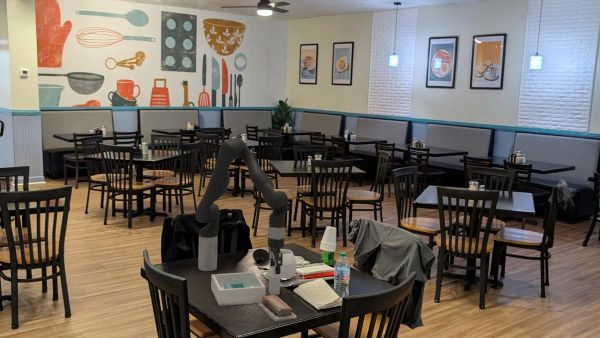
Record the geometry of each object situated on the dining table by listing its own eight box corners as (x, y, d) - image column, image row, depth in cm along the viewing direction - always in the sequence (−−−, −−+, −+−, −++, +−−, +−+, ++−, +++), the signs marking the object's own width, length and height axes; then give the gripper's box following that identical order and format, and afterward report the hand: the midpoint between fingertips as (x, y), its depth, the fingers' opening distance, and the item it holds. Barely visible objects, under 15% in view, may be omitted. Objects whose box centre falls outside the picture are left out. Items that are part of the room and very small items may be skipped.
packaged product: (257, 295, 234) (278, 292, 239) (257, 306, 235) (278, 303, 239) (275, 311, 218) (297, 307, 223) (275, 323, 219) (297, 319, 224)
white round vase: (264, 279, 266) (265, 253, 264) (275, 272, 278) (276, 246, 276) (289, 284, 261) (290, 257, 259) (299, 276, 273) (301, 250, 272)
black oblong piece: (248, 257, 284) (252, 238, 300) (256, 274, 289) (259, 253, 305) (265, 252, 282) (267, 233, 299) (273, 269, 287) (275, 249, 303)
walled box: (211, 289, 250) (211, 274, 249) (253, 286, 257) (254, 271, 256) (219, 306, 232) (219, 290, 231) (264, 302, 238) (265, 287, 237)
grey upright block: (268, 291, 251) (269, 266, 249) (277, 291, 252) (278, 265, 251) (271, 294, 247) (272, 269, 246) (279, 294, 249) (280, 268, 247)
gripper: (264, 232, 251) (262, 266, 253) (272, 240, 238) (271, 276, 240) (279, 231, 254) (278, 265, 256) (289, 239, 240) (287, 275, 242)
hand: (275, 271), depth 248 cm, fingers open, 8 cm apart
